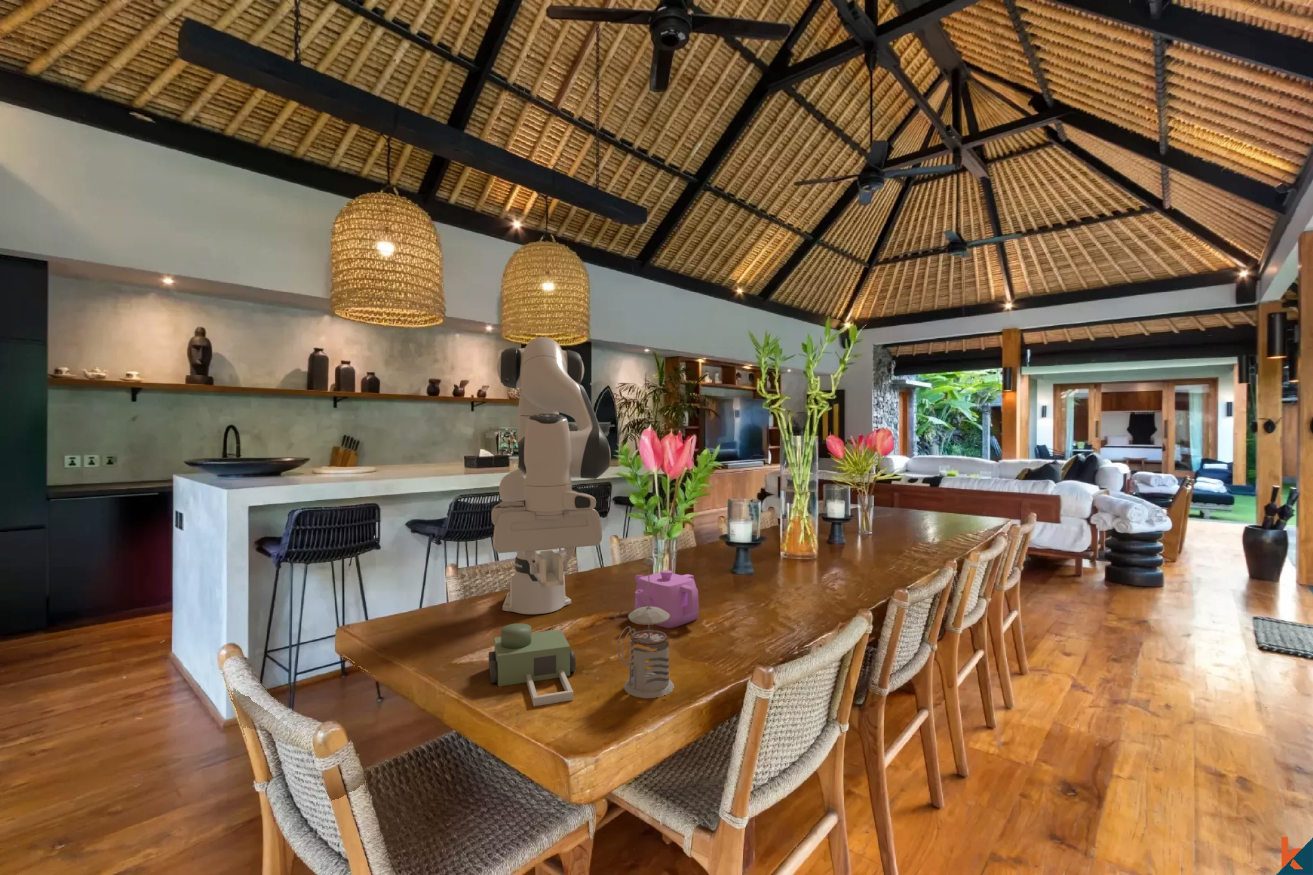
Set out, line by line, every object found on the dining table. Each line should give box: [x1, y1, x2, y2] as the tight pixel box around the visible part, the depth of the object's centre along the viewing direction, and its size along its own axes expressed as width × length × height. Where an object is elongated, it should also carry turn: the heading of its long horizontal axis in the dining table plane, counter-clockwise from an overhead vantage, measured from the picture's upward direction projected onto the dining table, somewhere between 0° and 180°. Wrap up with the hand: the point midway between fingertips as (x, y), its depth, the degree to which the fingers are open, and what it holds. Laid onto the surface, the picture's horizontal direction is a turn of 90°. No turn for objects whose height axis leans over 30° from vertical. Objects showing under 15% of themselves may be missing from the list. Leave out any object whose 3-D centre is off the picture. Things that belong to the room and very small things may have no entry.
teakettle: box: [633, 569, 700, 629], centre depth 150 cm, size 17×17×12 cm
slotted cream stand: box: [535, 549, 564, 587], centre depth 108 cm, size 8×4×5 cm, turn 20°
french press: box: [616, 557, 675, 699], centre depth 110 cm, size 10×12×25 cm
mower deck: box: [488, 623, 577, 707], centre depth 112 cm, size 20×16×9 cm
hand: (548, 572), depth 108 cm, fingers closed on slotted cream stand, 4 cm apart
